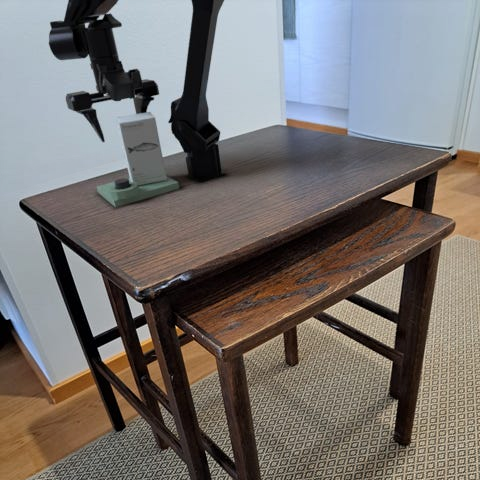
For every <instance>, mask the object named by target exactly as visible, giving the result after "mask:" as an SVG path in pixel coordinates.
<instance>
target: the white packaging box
mask: <svg viewBox="0 0 480 480" xmlns="http://www.w3.org/2000/svg"><path fill="white" fill-rule="evenodd" d="M114 120H115V123H116V127H117V132H118V135H119V140H120V143H121V147H122V151H123V152H122V153H123V156H124V160H125V165H126V168H127V173H128V176H129V178H130V179H131V181H132V182H136V183H137V184H138V185H143V184H148V183H153V182H159V181H166V180H167V177H168V176H167V172H166V166H165V162H164V157H163V152H162V147H161V142H160V136H159V132H158V126H157V120H156V117H155V116H154V115H153V114H152V112H151V111H147V112H146V113H140V114H136V113H135V114H129V115H121V116H116V117H115V119H114Z"/></svg>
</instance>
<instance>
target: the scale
mask: <svg viewBox="0 0 480 480" xmlns="http://www.w3.org/2000/svg"><path fill="white" fill-rule="evenodd" d="M126 178H127V179H129V183H130V187H129V188H126V189H120V190H118V189H116V186H115V181H112V182H108V183H105V184H100V185H97V186H96V189H97V193H98V194H99V195H100V196H102V197H103V198H104V199H105V200H106V201H107V202H108V203H110V204H111V205H112V206H113V207H115V208H118V207H122V206H126V205H128V204H132V203H136V202H139V201H143V200H145V199H148V198H149V199H150V198H153V197H156V196H159V195H163V194H167V193H169V192H172V191H176V190H179V189H180V184H179V181H177V180H175V179H173V178H171V177H169V176H167V180H166V181H159V182H153V183H148V184H143V185H138V184H137V183H136V182H132V181H131V179H130V177H126Z"/></svg>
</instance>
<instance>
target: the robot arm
mask: <svg viewBox="0 0 480 480" xmlns="http://www.w3.org/2000/svg"><path fill="white" fill-rule="evenodd" d="M118 1H119V0H68V1H67V6H66V10H65V15H64V18H63V20H55V21H50V22H49V25H50V31H49V34H48V46H49V49H50V52H51V54H52V55H53V56H54V57H55V58H56V59H57V60H59V61H70V60H71V61H72V60H81V59H82V60H83V59H86V58H88V57H89V61H90V63H89V65H90V70H92V73H93V77H94V81H95V89H96V91H97V92H92V93H90V92H88V91H85V90H80V91H75V92H70V93H67V94H66V95H65V102H66V105H67V109H68V110H71V111H73V112H76V113H78V114H80V115H82V116H83V117H84V118H85V119H86V121H87V122H88V123H89V124H90V126H91V127H92V129H93V131H94V132H95V133H96V135H97V136H98V138H99V140H100V142H102V143H105V136H104V132H103V130H102V127H101V124H100V121H99V118H98V115H97V109H95V108H93V105H94V104H97V103H103V102H108V101H114V102H121V101H122V100H127V99H130V100H131V99H132V101H133V105H134V109H135V110H134V111H135V114H140V113H146V112H148V107H149V105H150V103H151V102H152V101H155V96H159V95H160V90H159V85H158V83H157V82H156V81H155V80H153V79H149V78H145V79H142V75H141V71H140V70H139V69H138V68H133V69H128V71H126V70H125V68H124V65H123V63H122V60H120V56H119V52H118V48H117V43H116V39H115V34H114V30H113V29H116V28H121V27H122V26H123V23H122V22H121V21H119V20H118V19H117V18H115V17H114V15H113V14H112V13H109V12H110V11H111V10H112V9H113V8H114V7H115V5H117V4H118ZM190 1H191V5H192V15H191V23H190V32H189V41H188V48H187V56H186V65H185V71H184V73H185V74H184V82H183V88H182V89H183V90H182V94H181V97H179V98H177V99H174V100H172V101H171V103H170V117H169V119H168V124H170V130H171V134H172V135H173V136H174V138H175V139H176V140H177V141H178V142H179V145H180V146H181V148H182V151H183V152H184V154H186V156H185V163H186V170H187V174H186V175H187V177H188V178H190V179H192V180H194V181H196V182H198V183H203V182H207V181H209V180H214V179H216V178H220V177H223V176H226V172H225V171H224V170H222V165H221V164H222V163H221V154H220V148H219V144H217V143H218V142H220V138H221V131H220V130H219V129H218V128H217V127H216V126H215V125H214V124H213V123H212V122H211V121H210V120H209V118H210V117H209V115H210V113H209V111H210V110H209V105H208V99H207V90H208V83H209V76H210V70H211V63H212V57H213V50H214V42H215V36H216V30H217V24H218V19H219V18H218V17H219V13H220V11H221V8H222V7H223V5H224V2H225V0H190ZM101 16H103V17H102V19H99V18H100V17H101ZM86 24H87V27H86Z"/></svg>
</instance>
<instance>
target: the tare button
mask: <svg viewBox="0 0 480 480" xmlns="http://www.w3.org/2000/svg"><path fill="white" fill-rule="evenodd" d="M127 178H128V177H124V178H123V177H122V178H118V179H116V180H115V181H114V182H115V186H116V189H118V190H120V189H126V188H129V187H130V183H129V179H127Z"/></svg>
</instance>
